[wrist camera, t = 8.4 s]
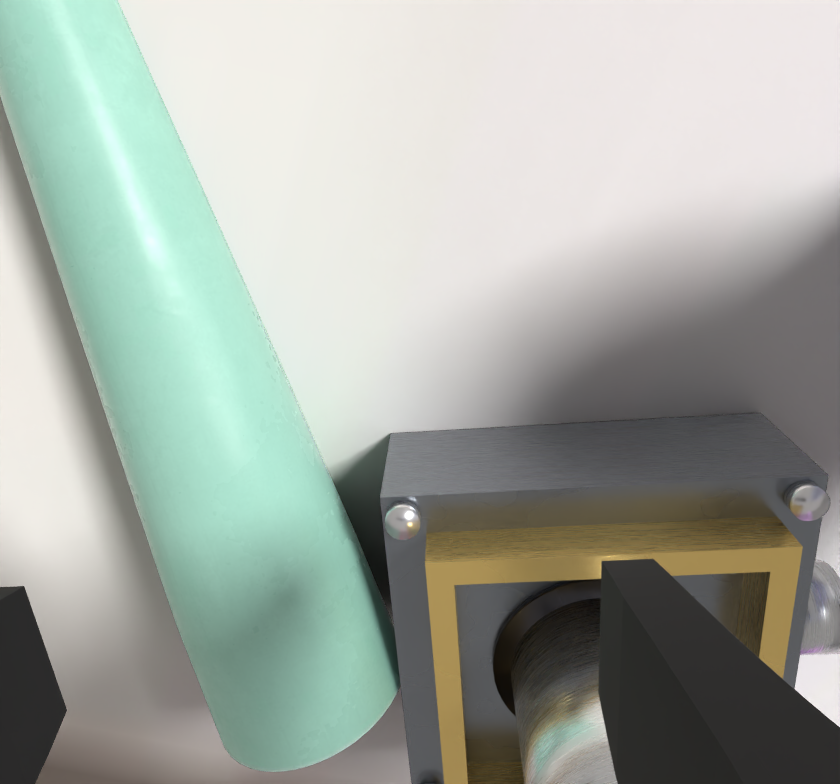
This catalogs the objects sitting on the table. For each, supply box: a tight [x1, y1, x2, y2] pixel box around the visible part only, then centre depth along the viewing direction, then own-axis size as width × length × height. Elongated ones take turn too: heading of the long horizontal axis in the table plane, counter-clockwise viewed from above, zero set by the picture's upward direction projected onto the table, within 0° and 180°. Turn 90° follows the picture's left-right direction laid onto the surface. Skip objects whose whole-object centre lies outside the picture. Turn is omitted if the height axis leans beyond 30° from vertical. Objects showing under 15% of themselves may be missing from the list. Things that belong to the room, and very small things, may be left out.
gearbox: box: [380, 413, 840, 784], centre depth 18 cm, size 12×10×5 cm
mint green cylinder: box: [0, 0, 400, 772], centre depth 15 cm, size 5×6×27 cm
